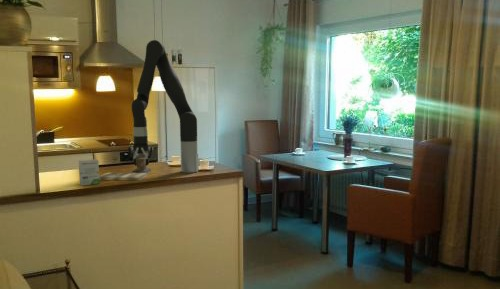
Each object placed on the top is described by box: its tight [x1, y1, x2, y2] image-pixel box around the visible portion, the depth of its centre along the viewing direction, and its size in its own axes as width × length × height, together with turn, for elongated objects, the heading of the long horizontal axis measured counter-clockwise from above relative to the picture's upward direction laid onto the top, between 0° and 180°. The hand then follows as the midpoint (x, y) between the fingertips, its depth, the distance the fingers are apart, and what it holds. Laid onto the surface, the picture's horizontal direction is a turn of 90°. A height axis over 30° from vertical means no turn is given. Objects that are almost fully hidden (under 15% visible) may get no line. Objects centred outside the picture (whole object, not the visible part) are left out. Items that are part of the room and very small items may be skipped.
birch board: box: [99, 172, 148, 181], centre depth 234 cm, size 22×13×2 cm, turn 86°
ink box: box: [78, 159, 100, 186], centre depth 218 cm, size 8×5×12 cm, turn 119°
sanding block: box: [131, 157, 152, 174], centre depth 249 cm, size 7×11×8 cm, turn 176°
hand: (141, 165), depth 249 cm, fingers open, 5 cm apart
